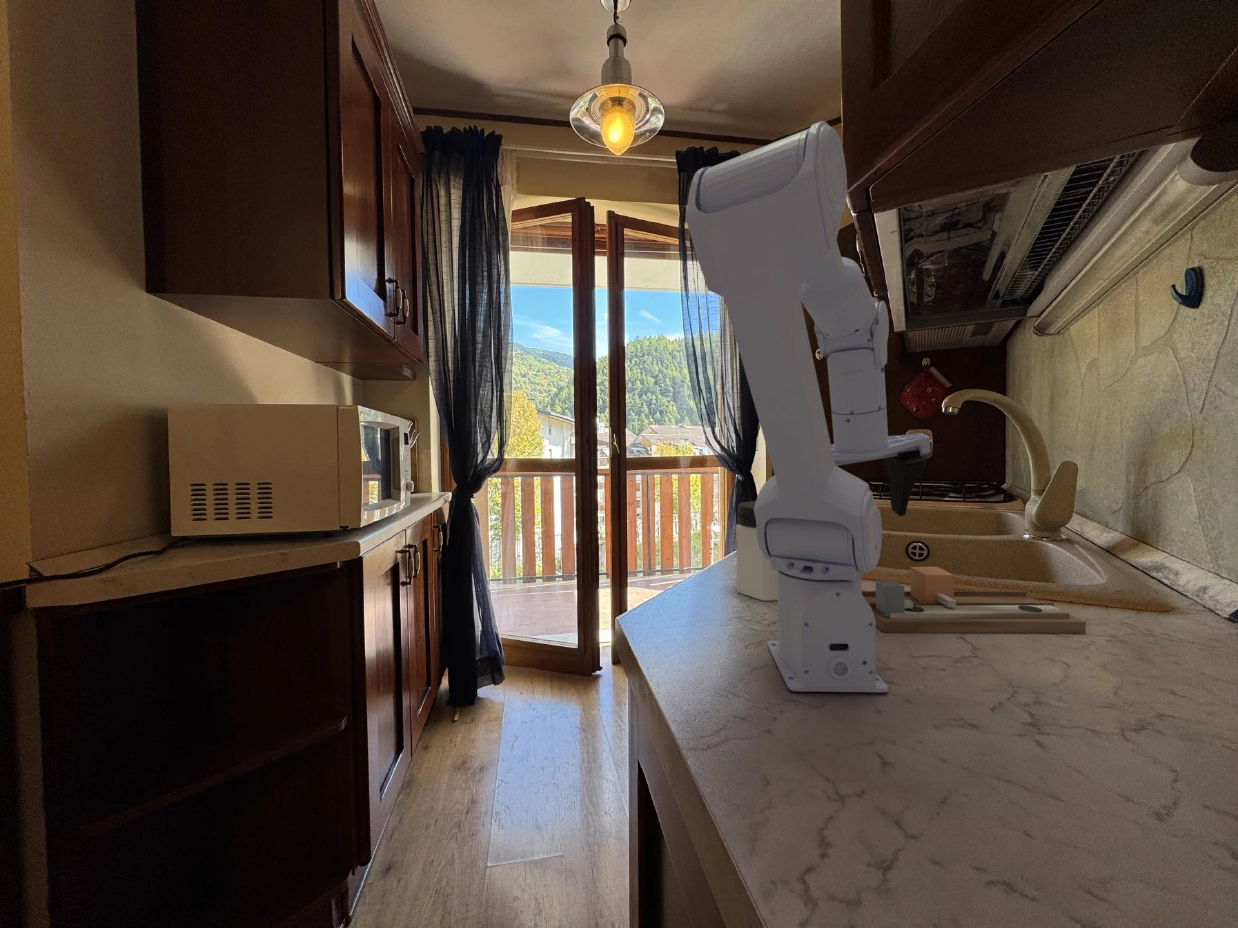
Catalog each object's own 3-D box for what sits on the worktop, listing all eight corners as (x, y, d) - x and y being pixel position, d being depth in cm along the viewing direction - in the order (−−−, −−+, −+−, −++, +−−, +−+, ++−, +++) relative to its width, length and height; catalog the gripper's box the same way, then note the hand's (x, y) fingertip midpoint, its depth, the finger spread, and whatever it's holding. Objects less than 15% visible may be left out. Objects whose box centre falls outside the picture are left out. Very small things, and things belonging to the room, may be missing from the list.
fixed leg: (916, 618, 54) (916, 586, 54) (885, 618, 55) (885, 586, 55) (905, 610, 57) (906, 580, 57) (875, 610, 57) (875, 580, 57)
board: (1085, 633, 52) (1085, 615, 52) (883, 632, 54) (883, 615, 54) (1026, 605, 61) (1026, 589, 61) (853, 605, 63) (853, 590, 62)
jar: (747, 579, 75) (745, 499, 74) (805, 585, 71) (804, 501, 70) (731, 597, 67) (729, 507, 66) (795, 605, 63) (794, 510, 62)
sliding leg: (966, 612, 55) (966, 581, 55) (937, 612, 55) (937, 581, 55) (936, 595, 61) (936, 566, 61) (910, 595, 61) (910, 566, 61)
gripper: (906, 392, 61) (911, 497, 64) (785, 413, 63) (796, 514, 66) (939, 401, 54) (942, 517, 58) (801, 425, 56) (812, 537, 59)
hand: (865, 517), depth 61 cm, fingers open, 7 cm apart
